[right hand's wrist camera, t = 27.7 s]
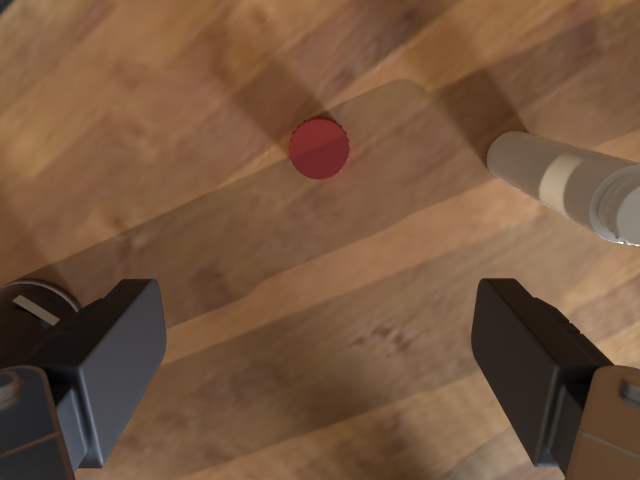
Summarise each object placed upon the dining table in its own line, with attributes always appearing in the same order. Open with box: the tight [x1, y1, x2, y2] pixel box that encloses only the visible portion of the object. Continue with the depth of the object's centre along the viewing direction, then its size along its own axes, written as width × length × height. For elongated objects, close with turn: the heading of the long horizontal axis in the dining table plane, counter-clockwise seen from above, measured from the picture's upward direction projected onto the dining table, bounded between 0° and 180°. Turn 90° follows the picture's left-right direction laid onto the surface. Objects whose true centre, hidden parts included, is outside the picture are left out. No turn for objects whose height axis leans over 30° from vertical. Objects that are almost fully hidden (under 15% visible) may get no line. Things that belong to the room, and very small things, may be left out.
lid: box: [289, 116, 350, 179], centre depth 36 cm, size 5×5×2 cm
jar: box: [487, 131, 640, 246], centre depth 30 cm, size 4×4×17 cm
